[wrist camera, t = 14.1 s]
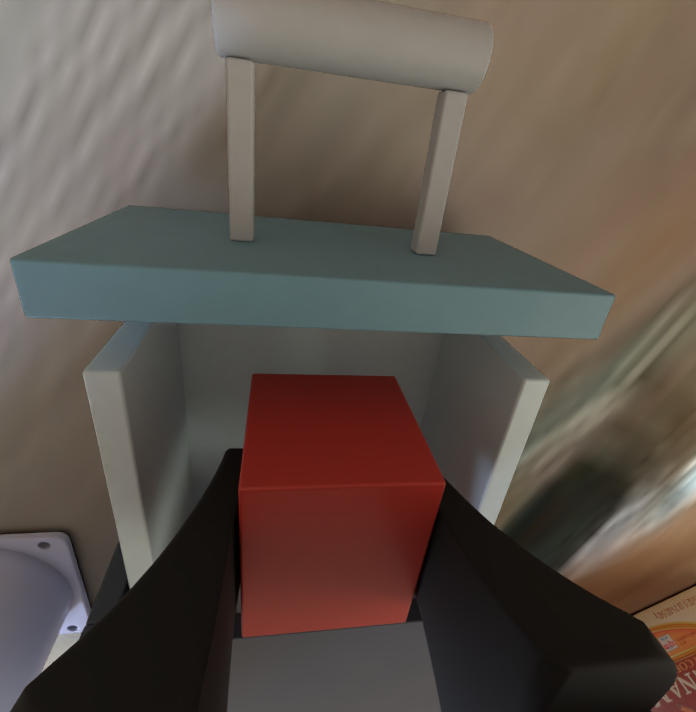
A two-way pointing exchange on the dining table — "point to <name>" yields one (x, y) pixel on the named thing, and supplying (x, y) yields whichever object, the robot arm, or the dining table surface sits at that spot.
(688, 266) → the dining table surface
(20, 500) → the dining table surface
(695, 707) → the coffeecake box
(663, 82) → the dining table surface
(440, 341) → the drawer
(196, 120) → the dining table surface
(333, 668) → the cabinet
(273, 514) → the red block
